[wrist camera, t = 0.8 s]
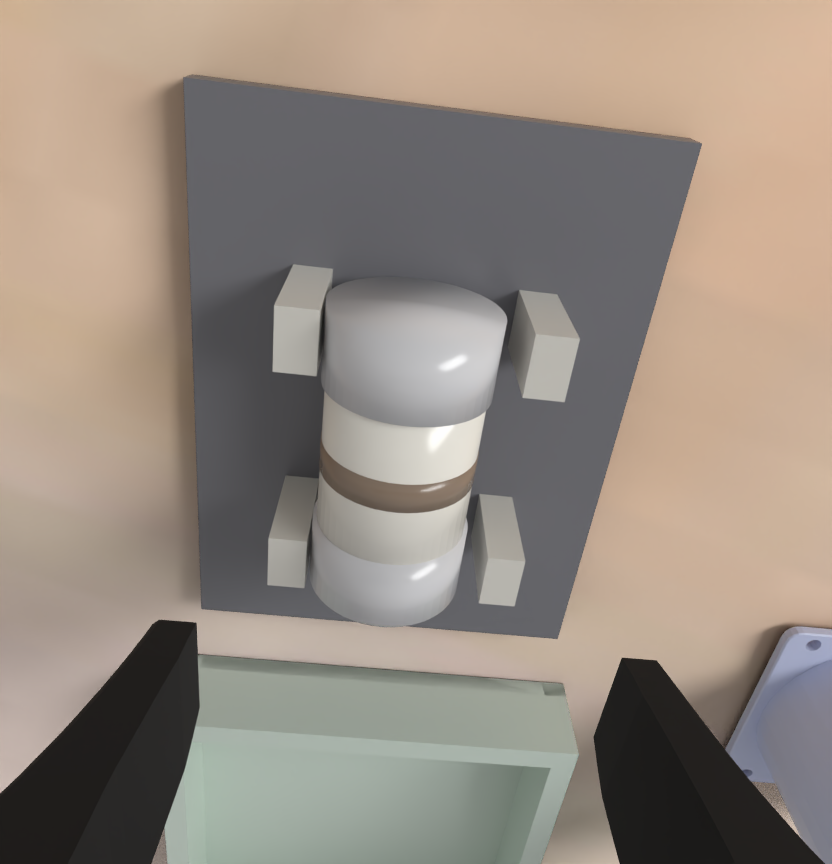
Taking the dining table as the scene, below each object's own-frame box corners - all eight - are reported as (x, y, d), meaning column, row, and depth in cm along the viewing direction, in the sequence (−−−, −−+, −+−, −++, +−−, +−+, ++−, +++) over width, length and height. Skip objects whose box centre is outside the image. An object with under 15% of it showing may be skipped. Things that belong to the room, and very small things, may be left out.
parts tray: (563, 683, 27) (578, 754, 25) (498, 893, 34) (505, 966, 32) (181, 653, 26) (155, 723, 24) (193, 874, 33) (174, 947, 31)
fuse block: (690, 138, 18) (753, 167, 15) (553, 622, 26) (574, 711, 23) (192, 74, 17) (140, 89, 14) (207, 592, 25) (176, 680, 22)
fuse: (507, 292, 19) (506, 356, 15) (461, 540, 23) (451, 639, 19) (346, 267, 19) (305, 324, 15) (327, 518, 23) (292, 611, 19)
